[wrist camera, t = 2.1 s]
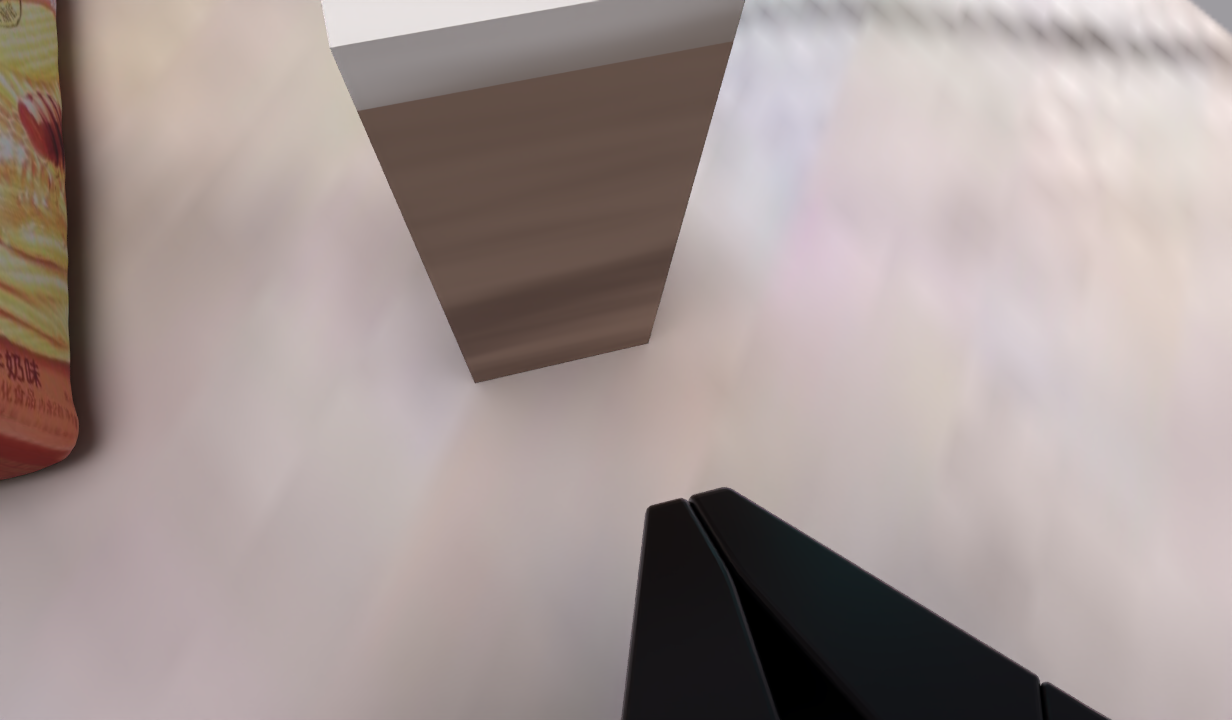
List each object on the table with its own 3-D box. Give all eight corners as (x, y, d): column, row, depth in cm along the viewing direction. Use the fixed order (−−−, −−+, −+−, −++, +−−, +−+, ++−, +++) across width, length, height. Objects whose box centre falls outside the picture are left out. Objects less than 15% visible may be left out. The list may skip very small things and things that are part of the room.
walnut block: (647, 343, 23) (752, -28, 10) (475, 383, 22) (329, 48, 9) (605, 190, 24) (643, -319, 11) (440, 224, 24) (270, -271, 10)
